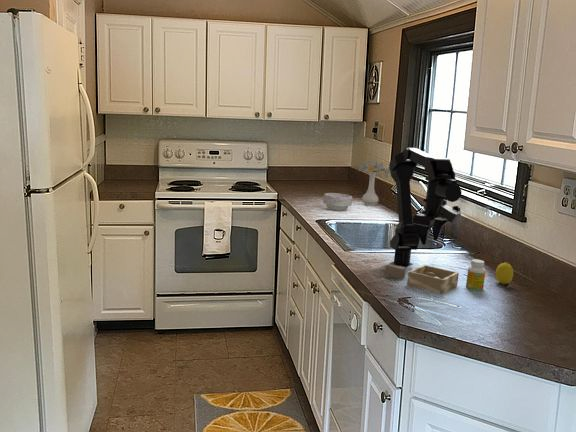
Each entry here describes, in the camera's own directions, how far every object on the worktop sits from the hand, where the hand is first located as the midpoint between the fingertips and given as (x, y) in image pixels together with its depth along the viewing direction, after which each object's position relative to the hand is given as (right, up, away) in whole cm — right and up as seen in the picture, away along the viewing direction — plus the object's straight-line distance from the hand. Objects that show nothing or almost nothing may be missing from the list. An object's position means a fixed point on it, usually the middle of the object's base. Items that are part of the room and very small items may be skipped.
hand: (429, 242), depth 197 cm
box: (0, -14, -5) cm, 15 cm away
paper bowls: (-21, +12, +120) cm, 122 cm away
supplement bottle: (+13, -15, -5) cm, 21 cm away
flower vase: (0, +15, +140) cm, 141 cm away
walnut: (0, -13, -2) cm, 13 cm away
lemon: (+25, -15, +2) cm, 29 cm away
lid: (-11, -13, +2) cm, 17 cm away
